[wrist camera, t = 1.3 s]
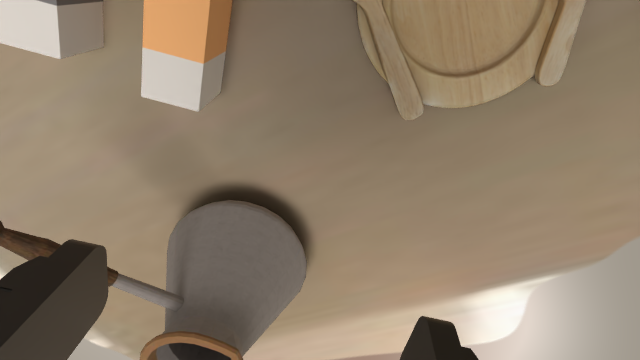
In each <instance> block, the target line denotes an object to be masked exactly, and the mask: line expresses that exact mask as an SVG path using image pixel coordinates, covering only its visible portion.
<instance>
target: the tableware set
mask: <svg viewBox="0 0 640 360" xmlns="http://www.w3.org/2000/svg"><path fill="white" fill-rule="evenodd" d="M353 1H354V2H356V3H357V16H358V26H359V30H360V34H361V39H362V43H363V45H364V48H365V51H366V53H367V55H368V57H369V59H370V60H371V62H372V64H373V65H374V67H375V68H376V70H377V71H378V73H379V74H380V75H381V77H382V78H383V79H384V80H385V81H386V82H387V83H389V85H390V88H391V91H392V94H393V97H394V100H395V103H396V106H397V108H398V111H399V113H400V115H401V117H402V118H403V119H404V120H414V119H416V118H418V117H419V116H421V115H422V114H423V111H424V106H423V104H425V105H429V106H433V107H440V108H463V107H470V106H475V105H479V104H483V103H486V102H488V101H491V100H494V99H496V98H498V97H501V96H503V95H505V94H507V93H509V92H510V91H512V90H514V89H515V88H517V87H519V86H520V85H522V84H523V83H525V82H526V81H527V80H529V79H530V78H531V77H532V76H534V75H535V80H536V82H537V83H538V84H540V85H543V86H545V87H546V86H552V85H554V84H556V83H557V82H558V81H559V80H560V78H561V76H562V74H563V71H564V69H565V66H566V63H567V60H568V57H569V53H570V50H571V47H572V44H573V41H574V38H575V34H576V31H577V28H578V25H579V22H580V19H581V15H582V12H583V9H584V6H585V3H586V0H353Z"/></svg>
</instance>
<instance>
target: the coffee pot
mask: <svg viewBox="0 0 640 360" xmlns="http://www.w3.org/2000/svg"><path fill="white" fill-rule="evenodd" d="M0 246H2V247H4V248H6V249H8V250H10V251H12V252H14V253H16V254H18V255H20V256H21V257H23V258H25V259H27V260H29V261H30V260H32V259H34V258H36V257H38V256H44V257H49V256H50V255H51V254H52V253H54V252H55V251H56V250H57V249H58V248H59V247H60V246H61V245H60V244H58V243H56V242H53V241H51V240H49V239H45V238H41V237H36V236H33V235H29V234H25V233H22V232H18V231H14V230H11V229H7V228H4V226H3V224H2V222H1V221H0ZM306 265H307V261H306V257H305V253H304V250H303V246H302V244H301V242H300V240H299V239H298V237H297V236H296V234H295V233H294V231H293V229H292V228H291V227H290V226H289V225H288V224H287V223H286V222H285V221H284V220H283V219H282V218H281V217H280V216H278V215H277V214H275V213H273V212H272V211H270V210H268V209H266V208H265V207H262V206H259V205H256V204H253V203H250V202H246V201H234V200H226V201H219V202H212V203H209V204H206V205H204V206H202V207H199V208H197V209H195V210H192V211H191V212H189V213H188V214H187V215H186V216H185V217H184V218H182V219H181V220H180V221H179V222H178V223H177V225H176V226H175V228H174V230H173V232H172V233H171V235H170V238H169V244H168V250H167V277H166V291H165V290H162V289H160V288H157V287H154V286H152V285H149V284H146V283H143V282H141V281H138V280H135V279H132V278H130V277H127V276H124V275H122V274H119V273H118V272H117V271H115V270H113V269H111V268H109V267H107V274H108V286H113V287H116V288H118V289H120V290H123V291H125V292H128V293H130V294H133V295H135V296H138V297H140V298H143V299H145V300H148V301H150V302H153V303H155V304H158V305H160V306H163V307H165V308H166V314H165V331H164V332H163V334H161V335H158V336H156V337H155V338H153V339H152V340H151V341H149V342H148V343H147V344H146V345H145V346H144V348H143V349H142V351H141V355H140V360H243V358H242V356H243V355H244V354H245V353H246V352H247V351H248V350H249V348H250V347H251V346H252V345H253V344H254V343H255V342H256V341H257V339H258V338H259V337H260V336H261V335H262V334H263V333H264V331H265V330H266V329H267V328H268V327H269V326H270V325H271V324H272V322H273V321H274V320H275V319H276V318H277V317H278V316H279V314H280V313H281V312H282V311H283V310H284V309H285V308H286V306H287V305H288V304H289V303H290V302H291V301H292V300H293V299H294V297H295V296H296V295H297V294H298V293H299V292H300V290H301V287H302V285H303V282H304V280H305V278H306Z"/></svg>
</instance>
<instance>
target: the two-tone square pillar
mask: <svg viewBox="0 0 640 360" xmlns="http://www.w3.org/2000/svg"><path fill="white" fill-rule="evenodd" d="M0 43H2V44H6V45H10V46H13V47H17V48H21V49H25V50H28V51H32V52H36V53H40V54H43V55H47V56H51V57H55V58H58V59H63V58H66V57H70V56H74V55H77V54H81V53H84V52H88V51H91V50H95V49H99V48H102V47H104V37H103V0H0Z"/></svg>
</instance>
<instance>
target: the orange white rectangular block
mask: <svg viewBox="0 0 640 360" xmlns="http://www.w3.org/2000/svg"><path fill="white" fill-rule="evenodd" d="M232 1H233V0H144V17H143V51H142V86H141V97H145V98H149V99H152V100H156V101H160V102H164V103H168V104H171V105H175V106H179V107H183V108H186V109H190V110H194V111H198V112H199V111H200V110H201V109H202V108H203V107H205V106H206V105H207V104H208V103H209V102H210V101H211V100H213V99H214V98H215V97H216V96H217V95H218V94H220V93H221V85H222V78H223V70H224V62H225V55H226V47H227V39H228V32H229V24H230V16H231V8H232Z"/></svg>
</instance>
